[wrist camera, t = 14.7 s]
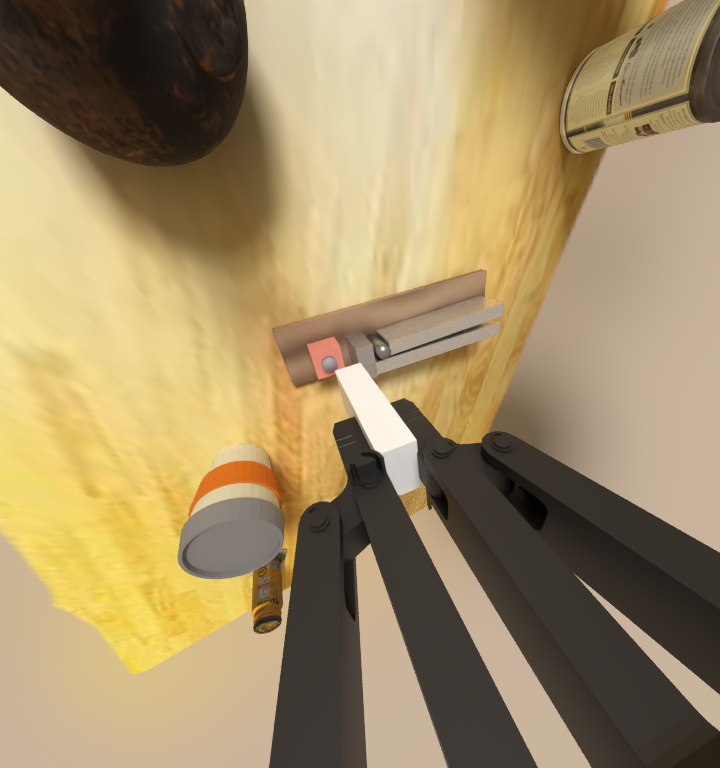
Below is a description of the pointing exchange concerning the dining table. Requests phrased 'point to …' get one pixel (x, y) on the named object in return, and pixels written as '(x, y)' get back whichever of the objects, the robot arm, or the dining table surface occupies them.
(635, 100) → the coffee can
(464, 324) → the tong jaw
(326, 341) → the tab
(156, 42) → the dark brown vase
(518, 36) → the dining table surface
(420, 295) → the board
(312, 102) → the dining table surface
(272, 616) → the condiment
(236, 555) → the reusable coffee cup
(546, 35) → the dining table surface
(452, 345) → the grey long bar
